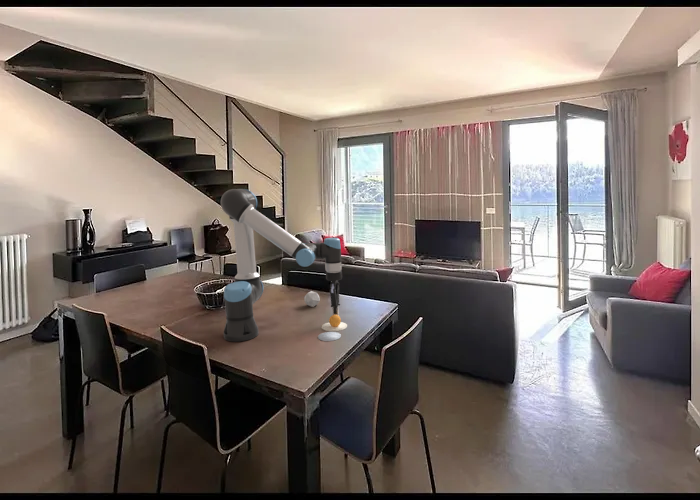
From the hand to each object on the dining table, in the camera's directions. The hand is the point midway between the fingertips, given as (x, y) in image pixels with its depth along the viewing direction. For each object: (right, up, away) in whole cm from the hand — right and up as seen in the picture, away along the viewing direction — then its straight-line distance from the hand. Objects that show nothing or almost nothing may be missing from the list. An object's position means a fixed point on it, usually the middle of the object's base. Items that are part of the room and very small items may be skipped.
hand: (336, 319), depth 183 cm
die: (-14, +2, +29) cm, 33 cm away
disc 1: (-1, -3, -3) cm, 4 cm away
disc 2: (-2, -5, -15) cm, 16 cm away
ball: (0, 0, -3) cm, 3 cm away
